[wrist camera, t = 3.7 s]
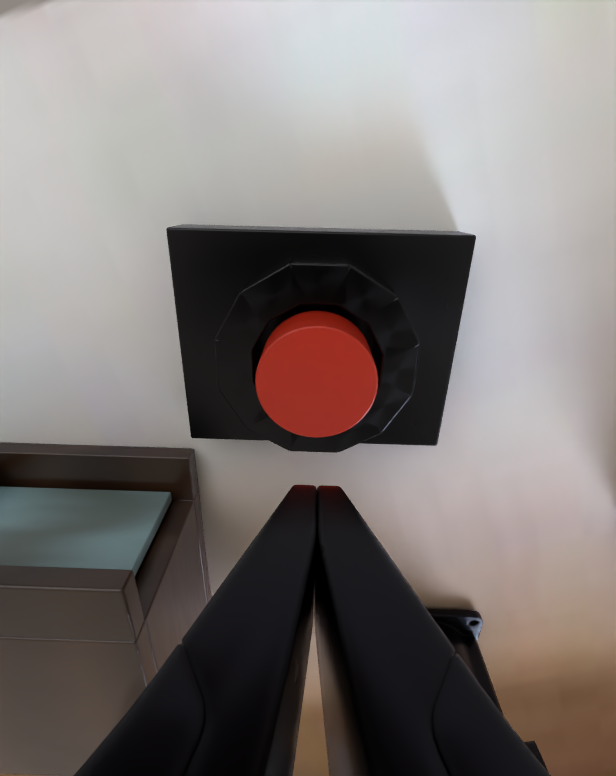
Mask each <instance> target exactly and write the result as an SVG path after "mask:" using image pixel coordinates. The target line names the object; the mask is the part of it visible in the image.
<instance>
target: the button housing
mask: <svg viewBox="0 0 616 776" xmlns="http://www.w3.org/2000/svg"><path fill="white" fill-rule="evenodd" d="M167 238H168V246H169V255H170V263H171V271H172V280H173V288H174V297H175V305H176V314H177V322H178V330H179V339H180V347H181V356H182V364H183V373H184V381H185V389H186V398H187V406H188V415H189V423H190V432H191V437H192V438H207V439H239V440H269V441H271V442H273V443H275V444H277V445H279V446H281V447H283V448H285V449H287V450H290V451H306V452H340V451H343V450H345V449H347V448H349V447H352V446H354V445H356V444H359V443H368V444H400V445H432V446H436V445H437V442H438V437H439V432H440V426H441V421H442V416H443V410H444V405H445V400H446V394H447V389H448V384H449V378H450V373H451V368H452V362H453V357H454V352H455V346H456V341H457V336H458V330H459V325H460V320H461V314H462V309H463V304H464V298H465V293H466V288H467V282H468V277H469V272H470V266H471V261H472V256H473V250H474V245H475V240H476V236H475V235H472V234H467V233H463V232H459V231H420V230H381V229H341V228H302V227H262V226H223V225H178V226H173V227H168V228H167ZM307 311H327V312H331V313H335V314H338V315H340V316H342V317H344V318H346V319H348V320H349V321H350V322H352V323H353V324H354V325H355V326H356V327H357V328H358V329H359V330H360V331H361V332H362V334H363V335H364V337H365V338H366V340H367V343H368V345H369V348H370V351H371V354H372V356H373V359H374V362H375V365H376V369H377V374H378V388H377V394H376V397H375V400H374V402H373V404H372V406H371V408H370V410H369V411H368V413H367V414H366V415H365V416H364V417H363V419H362V420H360V421H359V422H358V423H357V424H356V425H354V426H353V427H351V428H350V429H348V430H346V431H344V432H342V433H339V434H336V435H332V436H327V437H306V436H301V435H298V434H295V433H292V432H290V431H287V430H285V429H284V428H282V427H281V426H279V425H278V424H277V423H275V422H274V421H273V420H272V419H271V418H270V417H269V416H268V414H267V413H266V412H265V411H264V409H263V407H262V405H261V404H260V401H259V399H258V396H257V392H256V385H255V378H256V371H257V367H258V364H259V361H260V358H261V355H262V352H263V350H264V347H265V344H266V342H267V340H268V338H269V336H270V335H271V333H272V332H273V331H274V329H275V328H276V327H277V326H278V325H279V324H281V323H282V322H283V321H285V320H286V319H288V318H289V317H291V316H294V315H296V314H299V313H302V312H307Z"/></svg>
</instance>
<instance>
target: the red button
mask: <svg viewBox="0 0 616 776" xmlns="http://www.w3.org/2000/svg"><path fill="white" fill-rule="evenodd" d="M255 385H256V392H257V396H258V399H259V401H260V404H261V405H262V407H263V409H264V411H265V412H266V413H267V414H268V416H269V417H270V418H271V419H272V420H273V421H274V422H275V423H277V424H278V425H279V426H281V427H282V428H284V429H285V430H287V431H290V432H292V433H295V434H298V435H301V436H306V437H327V436H332V435H336V434H339V433H342V432H344V431H346V430H348V429H350V428H351V427H353V426H354V425H356V424H357V423H358V422H359V421H360V420H362V419H363V417H364V416H365V415H366V414H367V413H368V411H369V410H370V408H371V406H372V404H373V402H374V400H375V397H376V394H377V388H378V374H377V369H376V365H375V362H374V359H373V356H372V354H371V351H370V348H369V345H368V343H367V340H366V338H365V337H364V335H363V334H362V332H361V331H360V330H359V329H358V328H357V327H356V326H355V325H354V324H353V323H352V322H350V321H349V320H348V319H346V318H344V317H342V316H340V315H338V314H335V313H331V312H327V311H307V312H302V313H299V314H296V315H294V316H291V317H289V318H288V319H286V320H285V321H283V322H282V323H281V324H279V325H278V326H277V327H276V328H275V329H274V331H273V332H272V333H271V335H270V336H269V338H268V340H267V342H266V344H265V347H264V350H263V352H262V355H261V358H260V361H259V364H258V367H257V371H256V378H255Z"/></svg>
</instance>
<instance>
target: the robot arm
mask: <svg viewBox="0 0 616 776" xmlns="http://www.w3.org/2000/svg"><path fill="white" fill-rule="evenodd" d="M313 610H314V620H315V634H316V644H317V654H318V664H319V675H320V685H321V695H322V705H323V715H324V725H325V735H326V745H327V755H328V766H329V776H551V775H550V774H549V772H548V770H547V768H546V765H545V763H544V761H543V759H542V756H541V754H540V752H539V750H538V748H537V745H536V743H535V741H528V742H523V741H522V740H521V738H520V737H519V736H518V735H517V733H516V732H515V731H514V730H513V728H512V727H511V726H510V724H509V723H508V722H507V720H506V719H505V718H504V716H503V713H502V710H501V707H500V704H499V702H498V699H497V696H496V693H495V690H494V688H493V685H492V682H491V679H490V676H489V674H488V671H487V668H486V665H485V663H484V660H483V657H482V654H481V651H480V649H479V646H478V643H477V640H478V637H479V634H480V631H481V628H482V624H483V621H482V618H481V615H480V614H479V612H477V611H470V610H442V609H426V607H425V606H424V605H423V603H422V602H421V600H420V599H419V597H418V596H417V595H416V593H415V592H414V590H413V589H412V588H411V586H410V585H409V583H408V582H407V580H406V579H405V578H404V576H403V575H402V573H401V572H400V571H399V569H398V568H397V566H396V565H395V563H394V562H393V561H392V559H391V558H390V556H389V555H388V554H387V552H386V551H385V549H384V548H383V546H382V545H381V544H380V542H379V541H378V539H377V538H376V536H375V535H374V534H373V532H372V531H371V529H370V528H369V527H368V525H367V524H366V522H365V521H364V519H363V518H362V517H361V515H360V514H359V512H358V511H357V510H356V508H355V507H354V505H353V504H352V502H351V501H350V500H349V498H348V497H347V495H346V494H345V493H344V491H343V490H342V488H341V487H339V486H319V487H318V488H317V489H316V487H315V486H313V485H294V486H293V487H292V488H291V489H290V491H289V492H288V493H287V495H286V496H285V498H284V499H283V500H282V502H281V503H280V504H279V506H278V507H277V509H276V510H275V511H274V513H273V514H272V515H271V517H270V518H269V520H268V521H267V522H266V524H265V525H264V526H263V528H262V529H261V531H260V532H259V533H258V535H257V536H256V537H255V539H254V540H253V542H252V543H251V544H250V546H249V547H248V549H247V550H246V551H245V553H244V554H243V555H242V557H241V558H240V560H239V561H238V562H237V564H236V565H235V566H234V568H233V569H232V571H231V572H230V573H229V575H228V576H227V577H226V579H225V580H224V582H223V583H222V584H221V586H220V587H219V588H218V590H217V591H216V593H215V594H214V595H213V597H212V598H211V600H210V601H209V602H208V604H207V605H206V606H205V608H204V609H203V611H202V612H201V613H200V615H199V616H198V617H197V619H196V620H195V622H194V623H193V624H192V626H191V627H190V628H189V630H188V631H187V633H186V634H185V635H184V637H183V638H182V644H178V645H177V646H176V647H175V649H174V650H173V651H172V653H171V654H170V656H169V657H168V658H167V660H166V661H165V663H164V664H163V665H162V667H161V668H160V669H159V671H158V672H157V674H156V675H155V676H154V677H153V679H152V680H151V681H150V683H149V684H148V685H147V687H146V688H145V689H144V690H143V692H142V693H141V694H140V696H139V697H138V698H137V700H136V701H135V702H134V704H133V705H132V706H131V707H130V709H129V710H128V711H127V713H126V714H125V715H124V716H123V718H122V719H121V720H120V721H119V722H118V724H117V725H116V726H115V727H114V728H113V729H112V731H111V732H110V733H109V734H108V735H107V737H106V738H105V739H104V740H103V741H102V743H101V744H100V745H99V746H98V747H97V748H96V750H95V751H94V752H93V753H92V754H91V756H90V757H89V758H88V759H87V760H86V762H85V763H84V764H83V765H82V766H81V767H80V769H79V770H78V771H77V772H76V773H75V774H74V775H73V776H293V768H294V761H295V753H296V746H297V738H298V731H299V723H300V716H301V708H302V701H303V693H304V686H305V678H306V671H307V664H308V656H309V649H310V641H311V634H312V624H313Z"/></svg>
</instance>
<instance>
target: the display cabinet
mask: <svg viewBox="0 0 616 776" xmlns="http://www.w3.org/2000/svg"><path fill="white" fill-rule="evenodd" d="M210 600H211V593H210V584H209V576H208V567H207V559H206V550H205V541H204V533H203V524H202V516H201V507H200V499H199V491H198V483H197V474H196V466H195V457H194V450H193V449H187V448H155V447H124V446H92V445H60V444H28V443H0V773H3V774H28V775H53V776H73V775H74V774H75V773H76V772H77V771H78V770H79V769H80V767H81V766H82V765H83V764H84V763H85V762H86V760H87V759H88V758H89V757H90V756H91V754H92V753H93V752H94V751H95V750H96V748H97V747H98V746H99V745H100V744H101V743H102V741H103V740H104V739H105V738H106V737H107V735H108V734H109V733H110V732H111V731H112V729H113V728H114V727H115V726H116V725H117V724H118V722H119V721H120V720H121V719H122V718H123V716H124V715H125V714H126V713H127V711H128V710H129V709H130V707H131V706H132V705H133V704H134V702H135V701H136V700H137V698H138V697H139V696H140V694H141V693H142V692H143V690H144V689H145V688H146V687H147V685H148V684H149V683H150V681H151V680H152V679H153V677H154V676H155V675H156V674H157V672H158V671H159V669H160V668H161V667H162V665H163V664H164V663H165V661H166V660H167V658H168V657H169V656H170V654H171V653H172V651H173V650H174V649H175V647H176V646H177V645H178V644H182V638H183V637H184V635H185V634H186V633H187V631H188V630H189V628H190V627H191V626H192V624H193V623H194V622H195V620H196V619H197V617H198V616H199V615H200V613H201V612H202V611H203V609H204V608H205V606H206V605H207V604H208V602H209V601H210Z"/></svg>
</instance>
